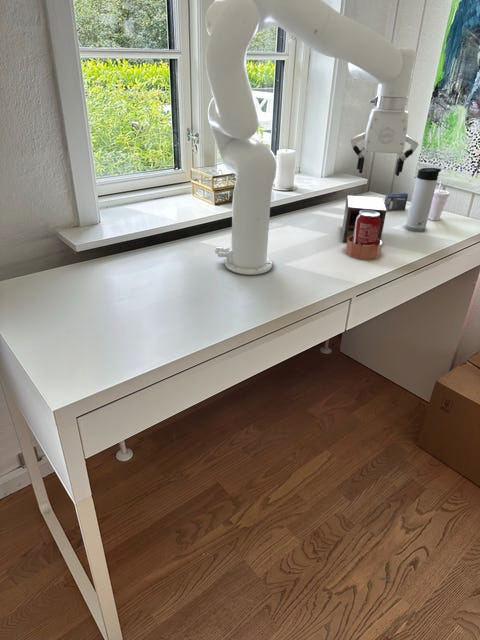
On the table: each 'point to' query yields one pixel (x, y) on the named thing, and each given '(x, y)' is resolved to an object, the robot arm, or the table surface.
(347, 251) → the can holder
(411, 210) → the travel mug
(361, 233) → the soda can
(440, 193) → the smoothie
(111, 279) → the table surface
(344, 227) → the desk shelf
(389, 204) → the mini dv tape
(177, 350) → the table surface
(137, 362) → the table surface
